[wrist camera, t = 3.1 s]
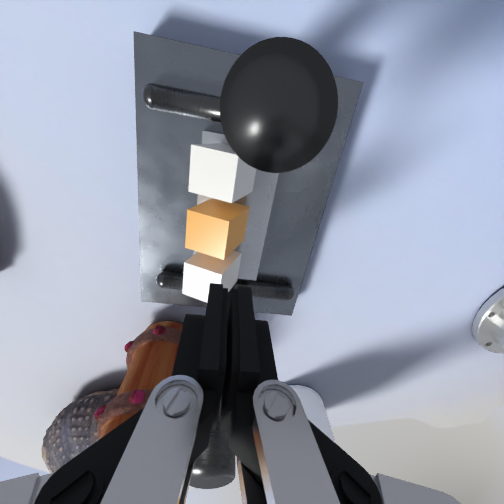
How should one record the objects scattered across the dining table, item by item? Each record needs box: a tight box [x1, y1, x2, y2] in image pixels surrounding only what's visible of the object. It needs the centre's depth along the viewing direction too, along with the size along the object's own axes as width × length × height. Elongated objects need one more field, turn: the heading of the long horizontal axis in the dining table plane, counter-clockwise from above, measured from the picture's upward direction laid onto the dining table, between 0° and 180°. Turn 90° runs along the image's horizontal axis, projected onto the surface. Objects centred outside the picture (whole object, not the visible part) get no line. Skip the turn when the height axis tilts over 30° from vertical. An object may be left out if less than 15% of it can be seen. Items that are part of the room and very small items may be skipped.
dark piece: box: [134, 31, 363, 489], centre depth 17 cm, size 16×22×18 cm
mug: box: [94, 321, 183, 440], centre depth 27 cm, size 15×8×15 cm, turn 179°
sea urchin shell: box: [42, 389, 119, 473], centre depth 36 cm, size 19×19×10 cm
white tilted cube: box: [188, 143, 256, 203], centre depth 17 cm, size 3×3×4 cm
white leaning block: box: [182, 251, 242, 303], centre depth 21 cm, size 3×3×4 cm
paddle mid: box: [185, 198, 250, 260], centre depth 19 cm, size 3×3×4 cm
